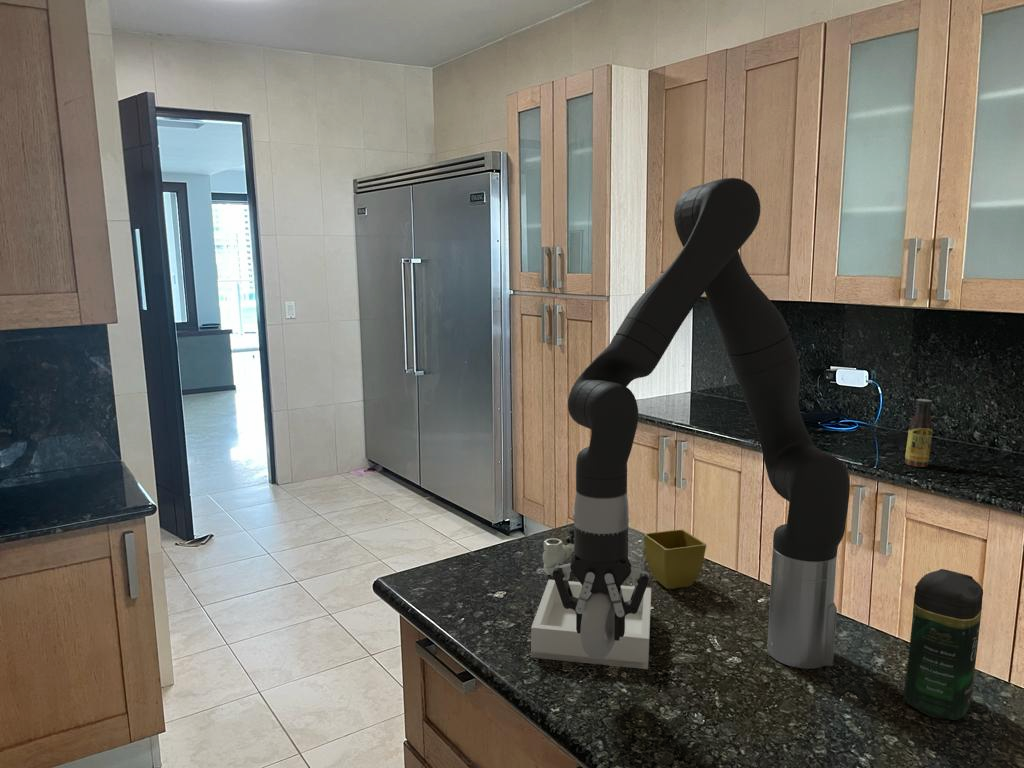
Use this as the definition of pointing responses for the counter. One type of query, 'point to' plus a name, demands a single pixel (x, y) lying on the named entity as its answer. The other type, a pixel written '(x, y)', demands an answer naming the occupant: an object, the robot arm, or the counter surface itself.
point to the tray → (562, 641)
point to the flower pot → (674, 557)
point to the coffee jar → (943, 644)
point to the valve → (556, 552)
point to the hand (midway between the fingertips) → (600, 636)
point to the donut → (598, 625)
